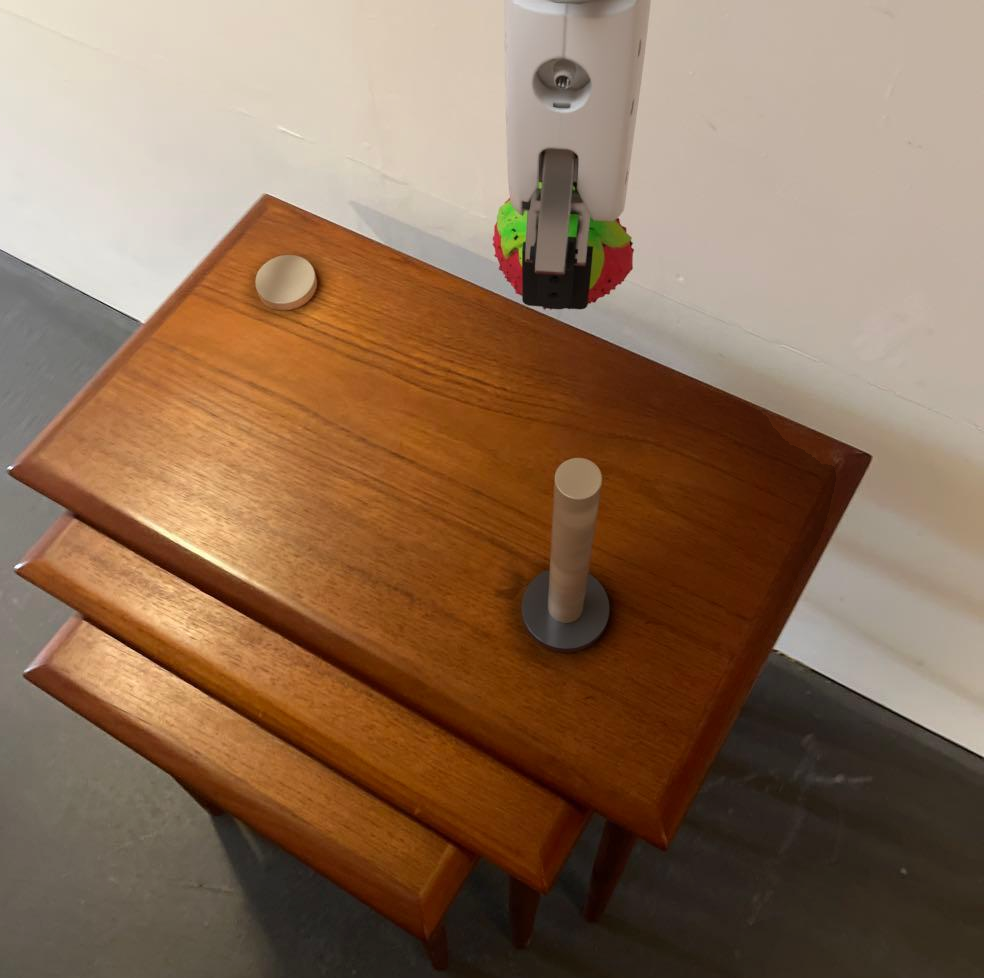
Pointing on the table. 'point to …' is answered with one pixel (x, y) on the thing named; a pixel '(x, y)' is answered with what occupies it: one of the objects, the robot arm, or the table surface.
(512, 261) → the strawberry
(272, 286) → the puck
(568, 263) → the robot arm
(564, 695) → the table surface
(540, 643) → the post
